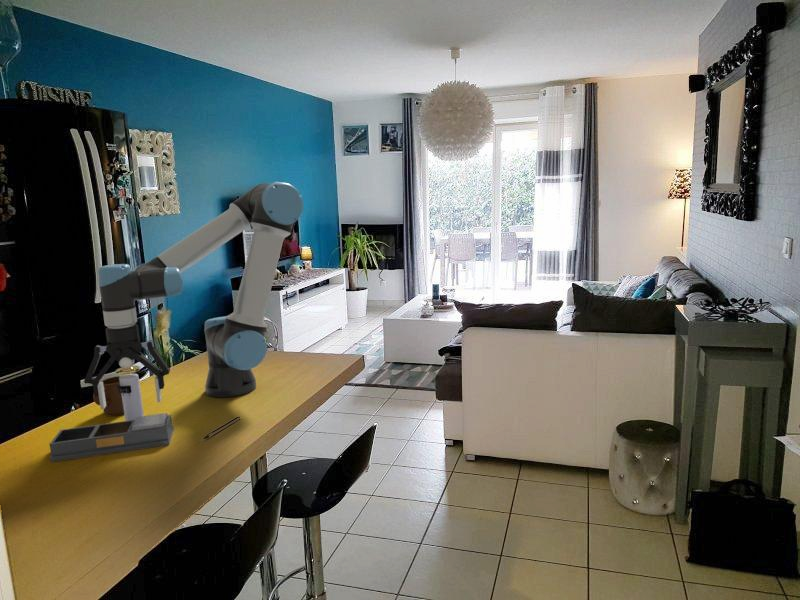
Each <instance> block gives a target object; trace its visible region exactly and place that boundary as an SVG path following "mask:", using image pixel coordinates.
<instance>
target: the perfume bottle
mask: <svg viewBox="0 0 800 600" xmlns="http://www.w3.org/2000/svg"><path fill="white" fill-rule="evenodd" d="M118 364H119V366H120V367H119V368H117V369H115V371H114V372H115V374H116V375H118V376H121V377H119V381H120V386H118V385H117V386H118V392H119V393H121V395H122V402H123V409H124V414H123V415H124V421H130V420H136V418H137V417H139V416H145V415H144V407H143V400H142V392H141V384H140V379H139V374H137V372H139V371H140V370H141V367H140V366H139V365H134V364H135V359H133V360H131V359H129V358H127V357H125V358H122V359H121V360H120V362H119V361H118ZM117 384H119V383H117ZM120 391H121V392H120Z"/></svg>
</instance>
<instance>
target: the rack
mask: <svg viewBox="0 0 800 600" xmlns="http://www.w3.org/2000/svg"><path fill="white" fill-rule="evenodd" d="M174 430H175V428H174V424H173V420H172V414H169V415H168V412H164V413H163V412H162V413H155V414H148V415H144V416H139V417H137V418H136V420H130V421H125V420H124V421H116V422H110V423H102V424H94V425H87V426H79V427H71V428H65V429H59V431H58V432H57V434H56V435H55V437H54V438H52V440H51V441H50V443H49V449H50V453H51V454H50V457H49V460H50V463H53V462H54V463H55V462H60V461H68V460H74V459H82V458H88V457H89V458H90V457H95V456H96V457H97V456H102V455H109V454H114V453H115V454H116V453H122V452H130V451H136V450H137V451H138V450H143V449H144V450H145V449H151V448H157V447H165V446H170V444H171V440H172V437H173V435H174V434H173V433H174Z"/></svg>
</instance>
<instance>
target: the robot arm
mask: <svg viewBox="0 0 800 600" xmlns="http://www.w3.org/2000/svg"><path fill="white" fill-rule="evenodd" d="M303 211H304V200H303V197H302V195H301V193H300V191H299V190H298V189H297V188H296V187H295V186H294V185H292V184H290V183H287V182H282V181H273V182H268V183H266V182H265V183H259V184H257V185H255V186H253V187H252V188H250V189H249V190H248V191H246V192H245V193H244V194H242V195H241V196H240V197H238V198H237V199H236V200H234V201H233V202H231V203H230V204H229V207H228V209H227V210H225V211H224V212H222V213H221V214H219V215H218V216H216V217H214V218H213V219H211V220H210V221H208V222H207V223H206V224H204V225H203V226H201V227H199V228H198V229H196V230H195V231H193V232H192V233H190V234H189V235H187V236H185V237H184V238H183V239H181V240H179V241H178V242H177V243H175V244H173V245H171V247H169V248H168V249H166V250H164V251H163V252H161V253H159V254H158V255H157V256H156V257H154V258H152V259H150V260H149V261H148V262H146V263H141V264H139V265H138V266H136V267H135V268H134V269H133V270H132V269H131V265H130V264H128V263H120V264H119V263H116V264H114V263H113V264H108V265H103V266H100V267H99V268H98V271H97V273H98V287H99V293H100V299H101V306H102V314H103V321H104V326H105V327H106V328H105V337H106V343H107V344H106V345H100V344H97V345H96V346H95V347H94V348H93V358H92V360H91V363H90V365H89V366H88V367H89V368H88V371H87V373H86V375H85V377H84V380H83V382H84V384H89V385H92V387H93V388H92V389H93V394H94V395H95V397H97V396H99V400H100V405H99V407H100V410H103V409H104V408H105V407H106V399H105V392H104V385H103V382H101V381H102V378H103V377H104V376H105V374H106V372H107V371H108V370H109V369H110V367H111V366H112V365H113V363H114V362H115V361H117V362H118V363H119V362H120V360H121V359H122V358H125V357H127V358H129V359H131V360H133V359H134V360H136V361H137V362H139V363H140V364H142V365H143V366H144V367H145V368H146V369H147V370H149V371H150V372H151V373H152V374H153V375H154V376H155V377H154V384H155V385H154V387H155V393H156V400H157V401H156V402H157V403H161V402H162V399H163V398H162V390H163V389H164V388H165V379H164V378H165V376H167V375H169V374H170V372H171V369H170V367H169V365H168V364H167V362H166V361H165V360H164V359H163V357H162V356H161V354H160V353H159V351H158V350H157V349H156V347H155V344H154V340H153V339H149V340H148V341H145V342H144V341H143V342H141V339H140V334H139V325H138V324H137V322H138V317H137V310H136V309H137V308H136V301H141V300H147V299H157V298H158V299H159V298H165V297H168V298H170V297H173V296H179V295H181V294H182V293H183V290H184V282H183V281H184V280H183V276H182V273H183V272H184V271H186V270H188V269H189V268H190V267H192V266H193V265H195V264H196V263H198V262H199V261H201V260H203V259H204V258H206V257H207V256H208V255H210V254H211V253H213V252H214V251H215V250H217V249H218V248H220V247H222V246H223V245H225V244H226V243H228V242H229V241H230V240H233V238H235V237H237V236H238V235H240V234H241V233H242V232H244V231H248V232H251V230H253V235H252V238H251V241H250V246H249V251H248V254H247V257H246V262H245V266H244V269H243V273H242V276H241V277H242V278H241V282H240V285H239V288H238V293H237V298H236V301H235V304H234V308H233V312H232V313H230V314H228V315H225V316H218V317H213V318H209V319H207V320H205V321H204V330H203V331H204V335H205V336H204V337H205V342H206V352H207V361H208V371H207V376H206V381H205V385H204V387H205V388H204V389H205V394H206V395H207V396H209V397H212V398H232V397H238V396H241V395H242V396H243V395H245V394H248V393H250V392H252V391H253V390H255V389H256V388H257V379H256V377H255V375H254V372H253V371H252V369H255V368H256V367H257V366H259V365H261V364H262V362H263V361H264V360H265V358H266V355H267V353H268V343H267V341H266V338H265V337H266V334H267V333H266V332H267V328H268V325H267V323H266V321H265V320H264V318H265V314H266V310H267V306H268V303H269V302H268V301H269V299H270V295H271V290H272V288H273V287H272V286H273V283H274V278H275V276H276V270H277V266H278V264H279V259H280V255H281V252H282V247H283V242H284V240H285V238H287V237H289V236H290V235H291V234H292V230H293V226H294V223H296V222H297V221H298V220H299V219H300V217H301V216H302V215H303ZM142 348H144V349H145V350H146V351H148V352H149V354H150V356H151V357H152V358H153V360H154V361H155V362H156V364H157V365H158V366H157V365H155V364H154V363H153V362H152V361H151V360H149V359H148V357H146V356H145V354H143V353H142V352H141V350H142ZM105 352H106V353H108V355H110V358H109V359H108V360H107V362H106V363H105V365H104V366H103V367H102V369H101V370H100V371H99V372H98V374H97V375H96V376H95V377H94V374H95V371H96V369H97V367H98V365H99V362H100V358H101V357H102V355H103V354H104V353H105Z"/></svg>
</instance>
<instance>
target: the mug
mask: <svg viewBox="0 0 800 600" xmlns="http://www.w3.org/2000/svg"><path fill="white" fill-rule="evenodd" d="M121 376H122V375H118V376H111V377H108V378H105V379H103V380H102V379H101V380H100V382H103V385H104V392H105V399H106V407H105V408H104V409H102V410H103V413H104V415H106V416H108V417H115V416H120V415H121V416H122V415H124V409H123V402H122V395H121V393H119V392H118V386H120V381H119V377H121ZM117 383H119V384H117ZM117 385H118V386H117ZM120 392H121V391H120ZM92 398H93V402H94V403H95V404H96V405H98V406H100V400H99V396H97V397H95V395H94V393H93V394H92Z"/></svg>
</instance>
